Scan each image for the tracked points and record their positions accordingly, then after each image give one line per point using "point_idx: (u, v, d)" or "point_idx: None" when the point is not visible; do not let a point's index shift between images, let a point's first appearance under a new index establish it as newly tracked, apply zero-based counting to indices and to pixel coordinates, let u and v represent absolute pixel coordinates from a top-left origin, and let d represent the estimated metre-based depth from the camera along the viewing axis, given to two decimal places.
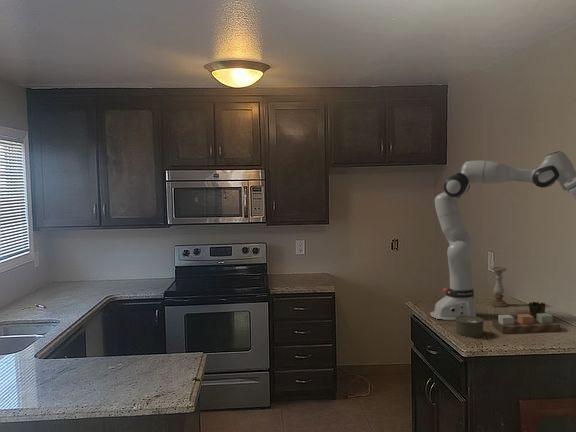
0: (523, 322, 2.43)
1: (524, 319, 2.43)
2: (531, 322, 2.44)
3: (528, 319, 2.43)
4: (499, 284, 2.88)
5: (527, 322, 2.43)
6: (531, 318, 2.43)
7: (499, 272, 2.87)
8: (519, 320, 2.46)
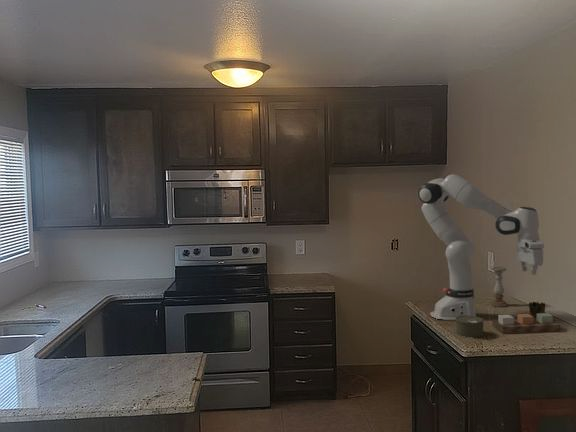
0: (523, 322, 2.43)
1: (524, 319, 2.43)
2: (531, 322, 2.44)
3: (528, 319, 2.43)
4: (499, 284, 2.88)
5: (527, 322, 2.43)
6: (531, 318, 2.43)
7: (499, 272, 2.87)
8: (519, 320, 2.46)
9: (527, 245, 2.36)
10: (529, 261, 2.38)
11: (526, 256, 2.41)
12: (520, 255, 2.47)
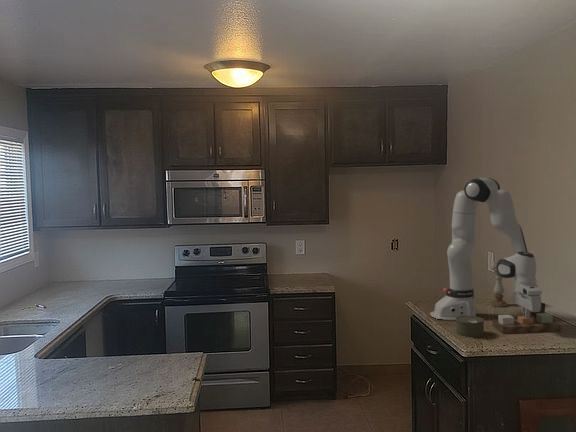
0: None
1: (524, 320, 2.43)
2: None
3: (528, 321, 2.43)
4: (499, 284, 2.88)
5: None
6: (531, 320, 2.43)
7: None
8: (519, 322, 2.46)
9: (525, 291, 2.38)
10: (527, 307, 2.40)
11: (523, 301, 2.44)
12: (518, 299, 2.49)
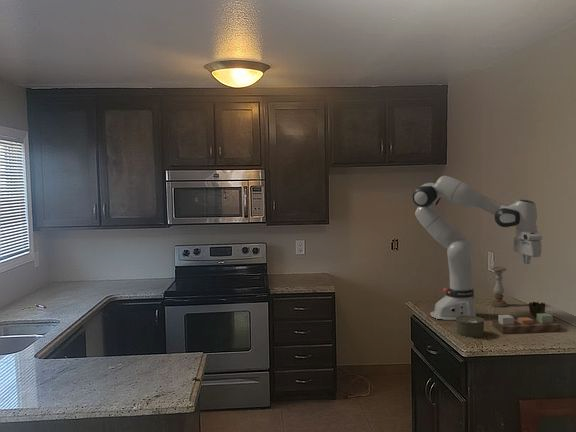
0: None
1: (524, 322, 2.43)
2: None
3: (528, 323, 2.44)
4: (499, 284, 2.88)
5: None
6: (531, 321, 2.44)
7: (499, 272, 2.87)
8: None
9: (526, 237, 2.43)
10: (527, 252, 2.45)
11: (524, 248, 2.48)
12: (519, 247, 2.53)
